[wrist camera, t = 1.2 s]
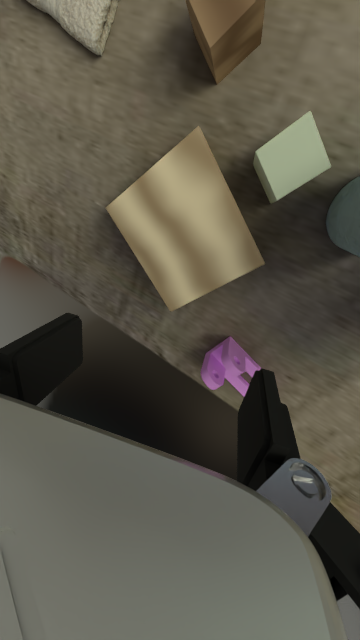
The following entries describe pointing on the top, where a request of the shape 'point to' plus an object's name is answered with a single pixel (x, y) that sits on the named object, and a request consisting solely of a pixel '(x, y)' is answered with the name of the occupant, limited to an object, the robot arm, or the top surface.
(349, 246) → the teal cylinder
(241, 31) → the walnut cube
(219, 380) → the bracket
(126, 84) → the top surface
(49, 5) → the washcloth
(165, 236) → the birch block
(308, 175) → the sage cube
